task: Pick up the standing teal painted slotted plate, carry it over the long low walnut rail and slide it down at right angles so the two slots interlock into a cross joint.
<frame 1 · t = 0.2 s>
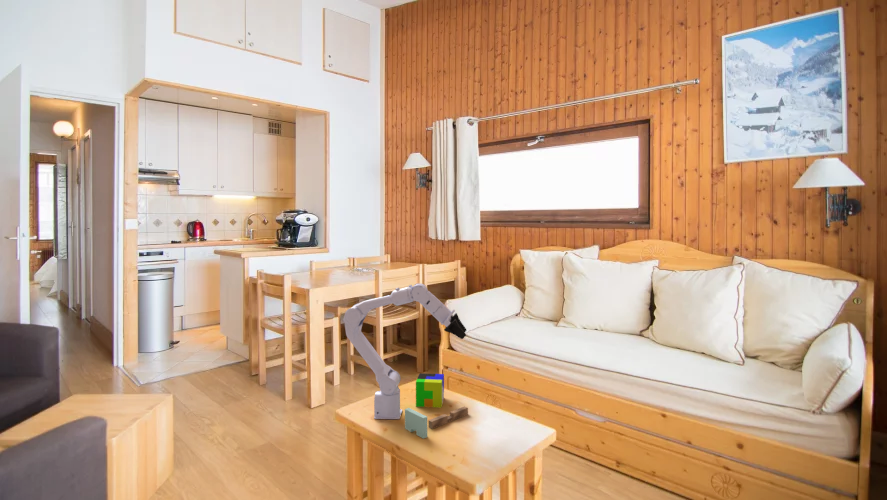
hand: (464, 334, 169), 31 cm above the table, tool tilted 45°, fingers open, 7 cm apart
teal plate: (415, 432, 159), on the table
walnut rail: (448, 420, 169), on the table
puzzle toy: (430, 402, 186), on the table
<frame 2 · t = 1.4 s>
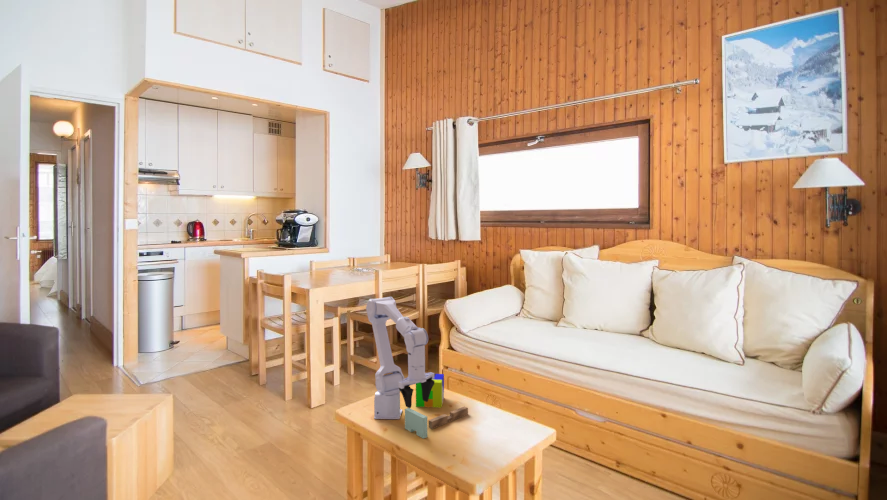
hand: (417, 403, 159), 10 cm above the table, tool pointing down, fingers open, 7 cm apart
nothing on the table moved.
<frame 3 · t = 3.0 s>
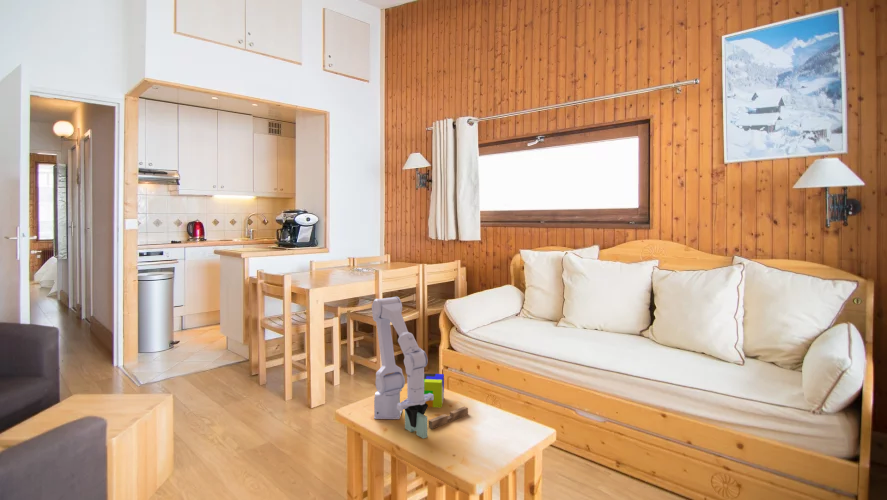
hand: (415, 425, 159), 3 cm above the table, tool pointing down, fingers closed on teal plate, 2 cm apart
teal plate: (415, 432, 159), on the table, touching gripper
everything else where it was.
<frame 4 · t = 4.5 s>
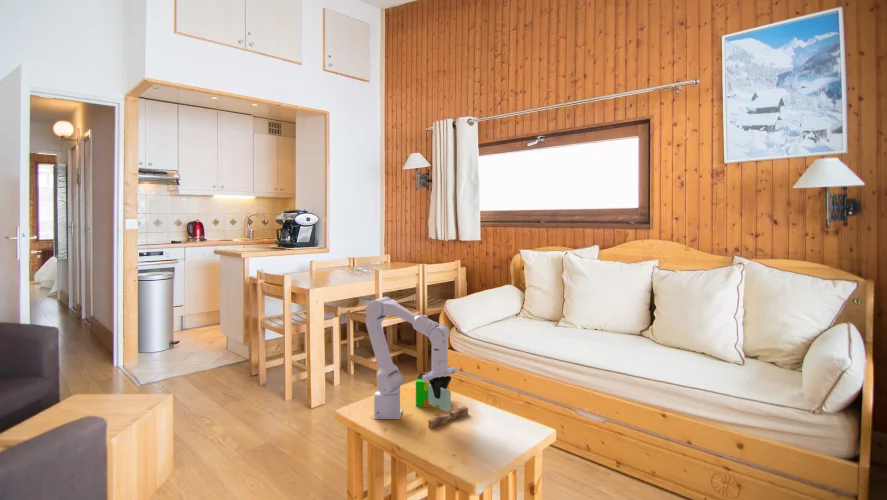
hand: (439, 396, 165), 10 cm above the table, tool pointing down, fingers closed on teal plate
teal plate: (439, 407, 166), point 6 cm above the table, touching gripper
everything else where it was.
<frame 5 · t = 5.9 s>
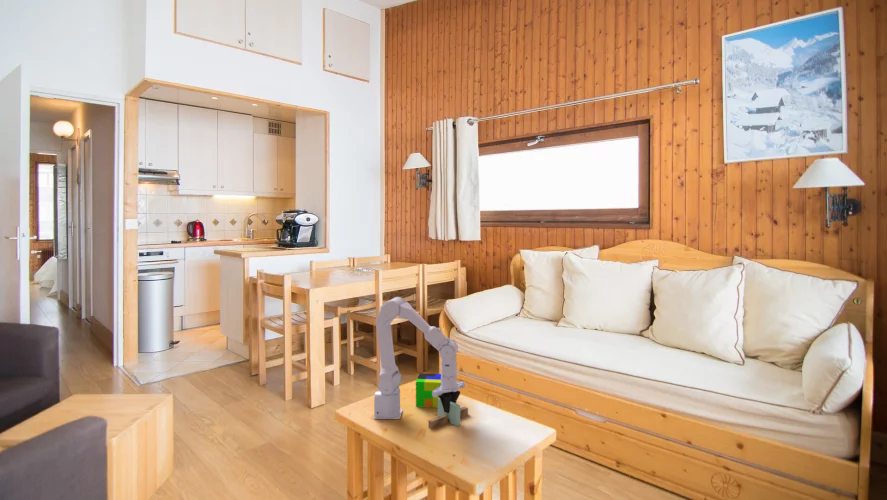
hand: (448, 411, 169), 3 cm above the table, tool pointing down, fingers closed on teal plate, 2 cm apart
teal plate: (448, 420, 169), on the table, touching gripper, walnut rail
everything else where it was.
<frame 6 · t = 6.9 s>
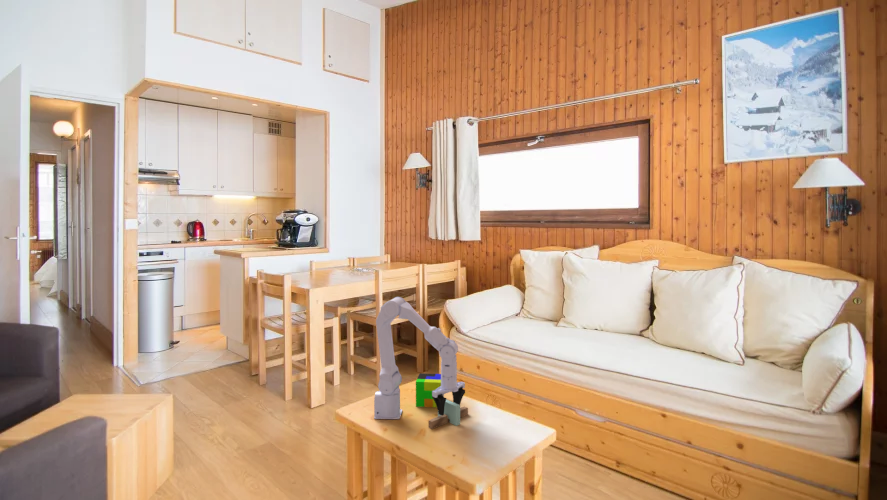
hand: (448, 411, 169), 3 cm above the table, tool pointing down, fingers open, 7 cm apart
teal plate: (448, 420, 169), on the table, touching walnut rail
everything else where it was.
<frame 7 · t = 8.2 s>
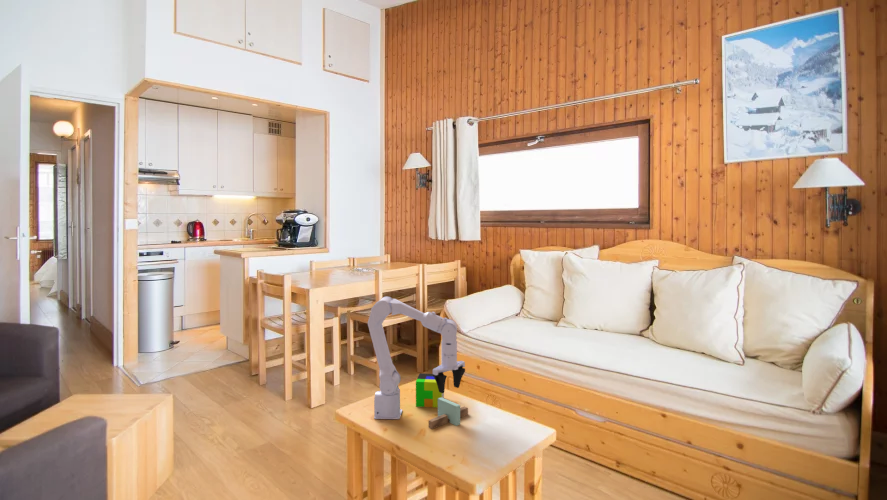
hand: (449, 389, 171), 10 cm above the table, tool pointing down, fingers open, 7 cm apart
nothing on the table moved.
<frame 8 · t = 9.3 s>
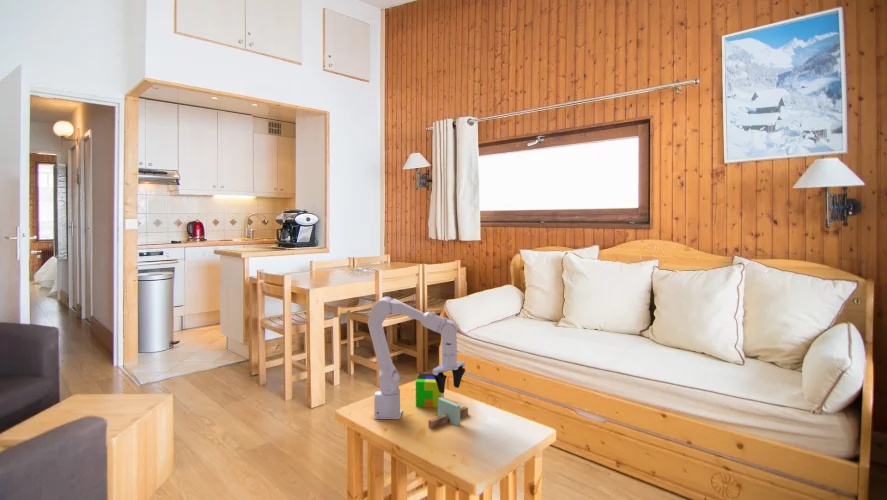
hand: (449, 389, 171), 10 cm above the table, tool pointing down, fingers open, 7 cm apart
nothing on the table moved.
at the end: teal plate 0.1 cm off-centre on the walnut rail, point 0.0 cm above the walnut rail's base; teal plate tilted 0°; the gripper is holding nothing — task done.
